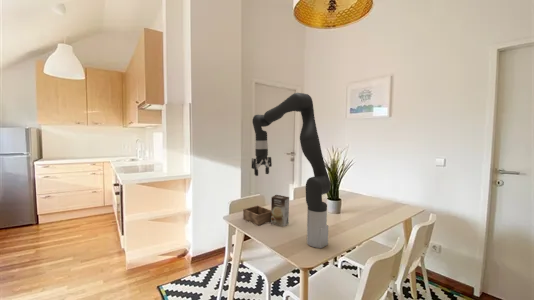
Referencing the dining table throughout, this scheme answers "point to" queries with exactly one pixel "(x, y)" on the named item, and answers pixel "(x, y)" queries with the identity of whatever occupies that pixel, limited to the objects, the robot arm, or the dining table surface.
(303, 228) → the dining table surface
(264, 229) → the dining table surface
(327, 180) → the robot arm
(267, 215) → the walnut caddy
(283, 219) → the coffee box
